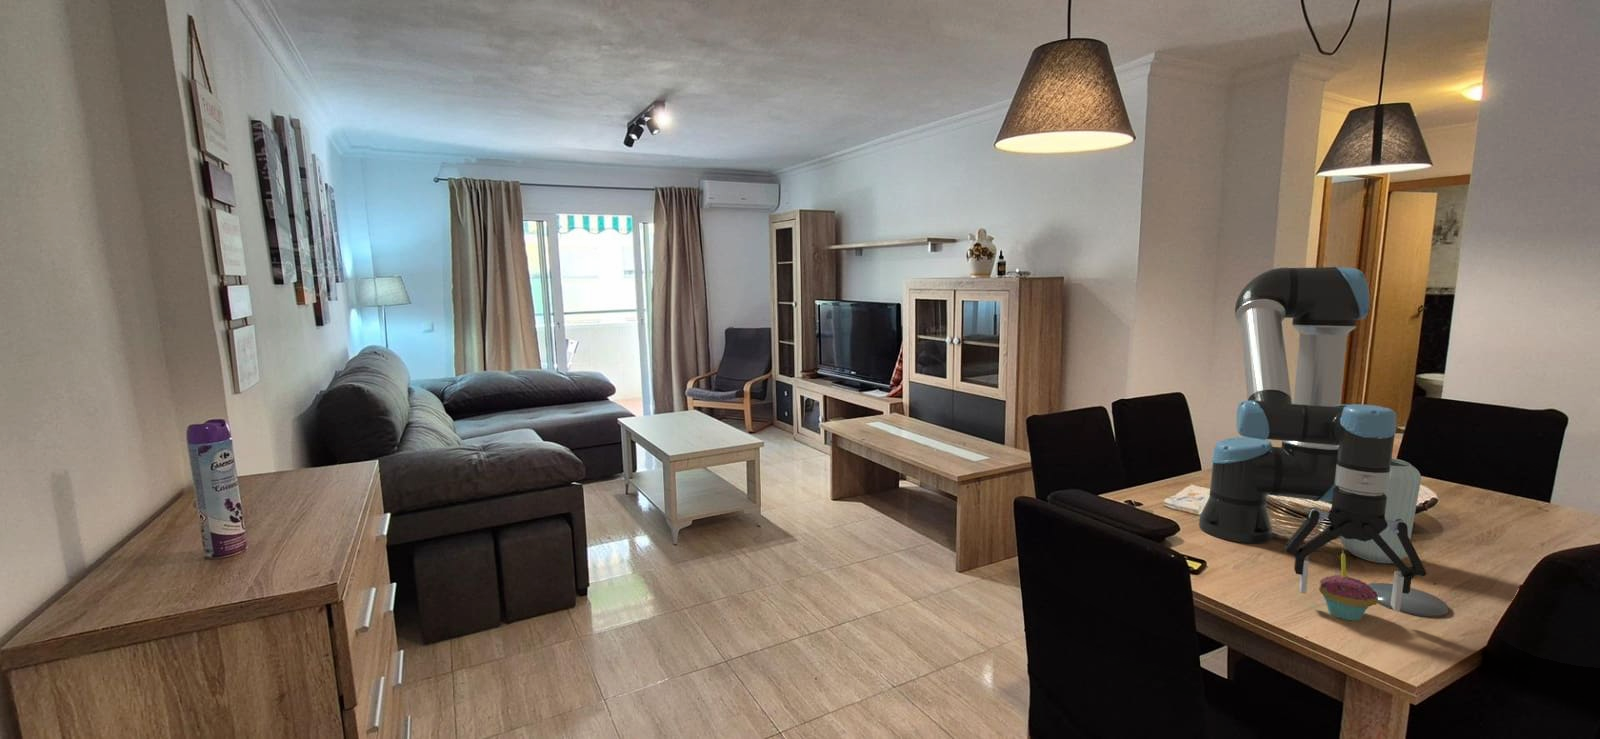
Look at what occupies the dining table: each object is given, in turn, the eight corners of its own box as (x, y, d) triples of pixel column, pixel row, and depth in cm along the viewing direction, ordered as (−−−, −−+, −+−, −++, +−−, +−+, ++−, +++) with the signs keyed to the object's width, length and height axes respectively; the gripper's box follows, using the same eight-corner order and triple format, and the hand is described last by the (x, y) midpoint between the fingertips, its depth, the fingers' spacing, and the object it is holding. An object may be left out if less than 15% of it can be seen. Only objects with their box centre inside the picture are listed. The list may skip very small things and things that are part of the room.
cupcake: (1305, 604, 129) (1311, 545, 127) (1345, 602, 130) (1352, 543, 128) (1344, 627, 121) (1352, 565, 119) (1387, 625, 121) (1395, 563, 119)
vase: (1406, 555, 150) (1423, 461, 146) (1405, 572, 142) (1423, 473, 138) (1341, 540, 158) (1356, 450, 154) (1336, 555, 150) (1352, 461, 146)
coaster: (1372, 606, 128) (1372, 602, 128) (1359, 581, 138) (1359, 578, 138) (1457, 623, 122) (1457, 619, 122) (1436, 595, 132) (1437, 591, 132)
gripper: (1278, 484, 125) (1268, 591, 127) (1459, 507, 112) (1443, 625, 115) (1274, 474, 131) (1264, 576, 134) (1445, 495, 118) (1430, 606, 121)
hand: (1347, 599), depth 124 cm, fingers open, 13 cm apart
